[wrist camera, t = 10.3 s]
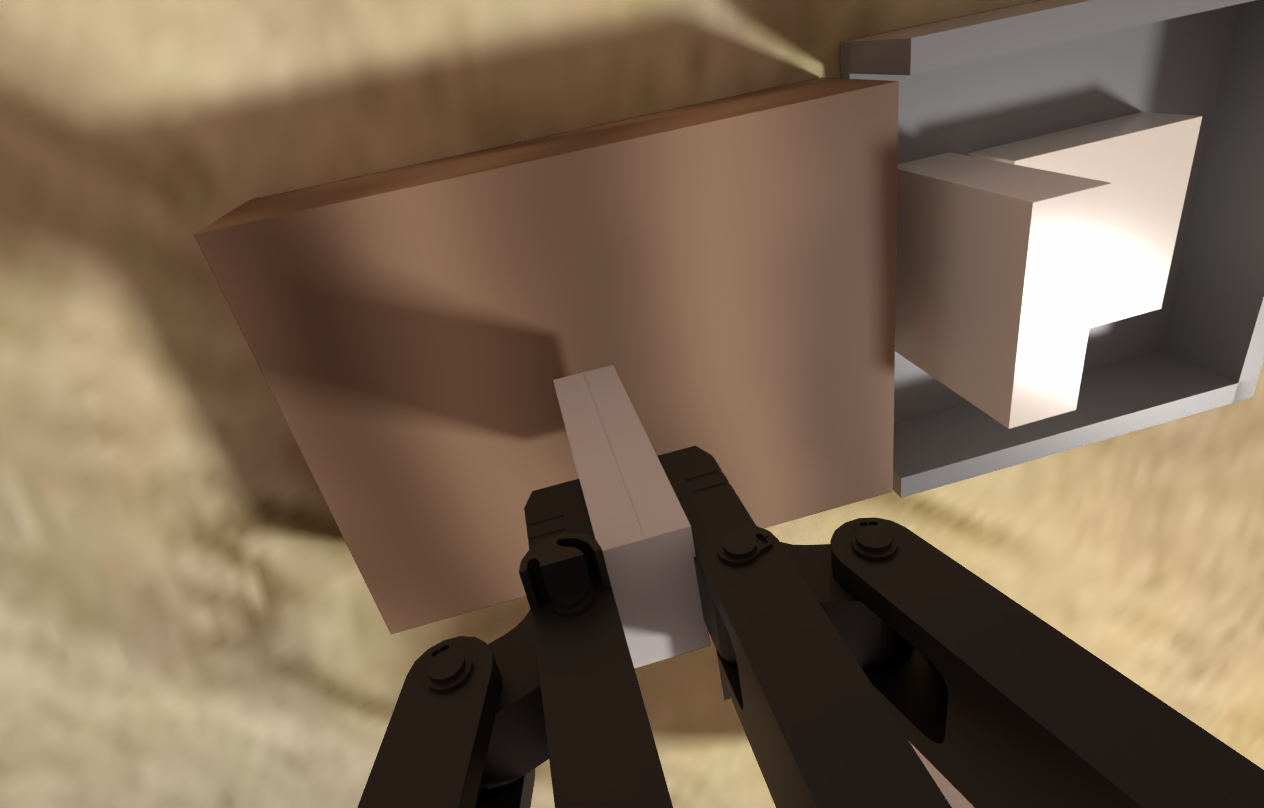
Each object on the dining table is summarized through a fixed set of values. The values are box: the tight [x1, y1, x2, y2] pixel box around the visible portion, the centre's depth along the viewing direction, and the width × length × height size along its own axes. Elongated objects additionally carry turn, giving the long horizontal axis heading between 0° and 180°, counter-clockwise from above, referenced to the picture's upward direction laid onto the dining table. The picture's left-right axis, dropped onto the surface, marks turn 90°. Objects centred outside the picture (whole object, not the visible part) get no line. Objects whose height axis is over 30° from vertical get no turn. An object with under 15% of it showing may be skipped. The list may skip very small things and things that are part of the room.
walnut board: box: [194, 78, 899, 634], centre depth 20 cm, size 16×12×4 cm
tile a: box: [895, 152, 1113, 429], centre depth 19 cm, size 6×6×2 cm
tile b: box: [969, 112, 1202, 328], centre depth 21 cm, size 6×6×2 cm
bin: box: [840, 0, 1264, 498], centre depth 21 cm, size 13×14×4 cm
